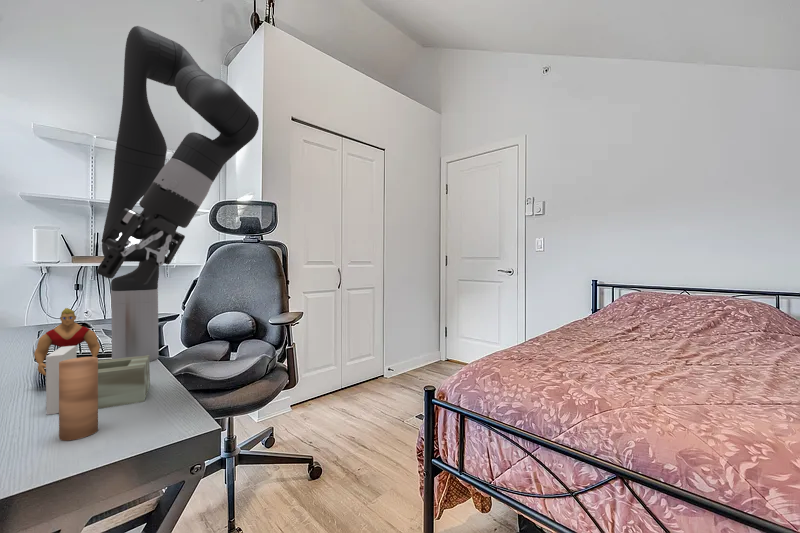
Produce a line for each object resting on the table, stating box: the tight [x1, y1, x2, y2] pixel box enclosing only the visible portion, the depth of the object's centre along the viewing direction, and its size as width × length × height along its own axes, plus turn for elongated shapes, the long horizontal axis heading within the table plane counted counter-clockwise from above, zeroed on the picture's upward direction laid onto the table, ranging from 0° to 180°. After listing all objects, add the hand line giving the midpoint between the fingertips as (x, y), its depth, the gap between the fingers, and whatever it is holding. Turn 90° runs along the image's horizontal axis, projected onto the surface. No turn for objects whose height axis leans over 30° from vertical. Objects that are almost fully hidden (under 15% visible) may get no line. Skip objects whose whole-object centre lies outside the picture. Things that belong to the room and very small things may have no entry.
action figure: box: [33, 307, 101, 376], centre depth 71 cm, size 10×4×15 cm, turn 129°
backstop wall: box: [45, 346, 78, 416], centre depth 60 cm, size 8×2×9 cm, turn 30°
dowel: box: [58, 356, 99, 442], centre depth 50 cm, size 4×4×10 cm
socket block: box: [98, 355, 151, 410], centre depth 64 cm, size 10×10×6 cm
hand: (122, 279), depth 58 cm, fingers open, 8 cm apart
